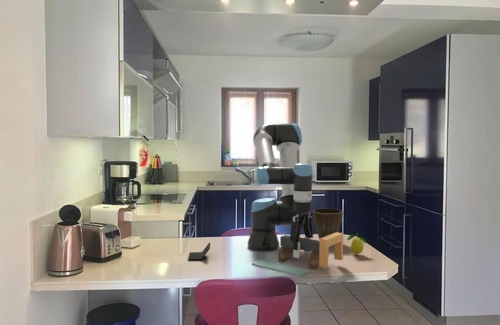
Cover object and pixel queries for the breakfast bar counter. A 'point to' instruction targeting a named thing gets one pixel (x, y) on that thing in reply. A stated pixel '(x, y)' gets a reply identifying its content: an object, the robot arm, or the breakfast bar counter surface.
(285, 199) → the robot arm
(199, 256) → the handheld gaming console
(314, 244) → the grey rectangular bar
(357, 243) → the lemon
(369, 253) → the breakfast bar counter surface
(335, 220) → the plant pot
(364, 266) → the breakfast bar counter surface
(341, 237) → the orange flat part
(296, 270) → the mat
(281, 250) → the cradle
